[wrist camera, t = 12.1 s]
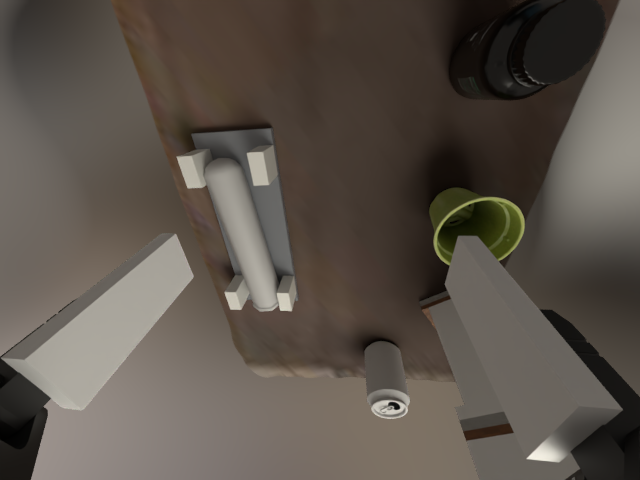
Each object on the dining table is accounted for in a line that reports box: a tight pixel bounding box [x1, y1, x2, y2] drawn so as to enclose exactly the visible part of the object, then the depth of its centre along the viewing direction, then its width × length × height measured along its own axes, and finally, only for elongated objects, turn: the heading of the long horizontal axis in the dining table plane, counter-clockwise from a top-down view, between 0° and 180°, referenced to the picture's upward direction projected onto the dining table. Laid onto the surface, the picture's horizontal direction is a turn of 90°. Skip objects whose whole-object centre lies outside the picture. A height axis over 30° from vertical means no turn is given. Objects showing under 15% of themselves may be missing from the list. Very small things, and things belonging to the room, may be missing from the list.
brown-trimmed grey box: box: [419, 291, 580, 480], centre depth 30 cm, size 11×11×35 cm
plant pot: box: [429, 188, 525, 265], centre depth 32 cm, size 9×9×9 cm
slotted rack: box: [177, 128, 299, 311], centre depth 38 cm, size 11×30×6 cm, turn 4°
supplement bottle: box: [450, 0, 606, 100], centre depth 22 cm, size 7×7×12 cm
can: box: [365, 341, 410, 419], centre depth 48 cm, size 8×8×12 cm
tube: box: [203, 158, 279, 311], centre depth 38 cm, size 5×5×25 cm
